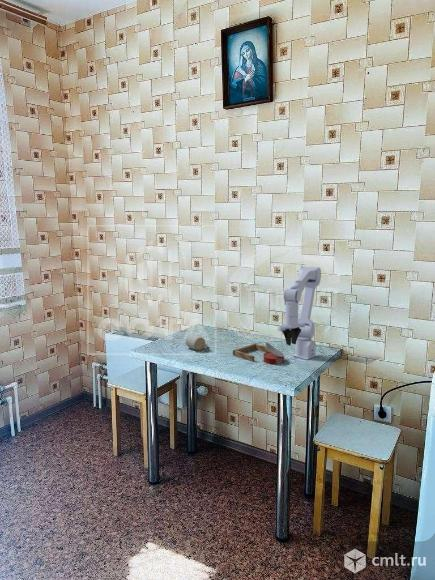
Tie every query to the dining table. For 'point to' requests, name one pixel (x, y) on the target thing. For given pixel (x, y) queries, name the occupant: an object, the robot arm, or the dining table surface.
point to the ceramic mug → (195, 341)
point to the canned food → (273, 355)
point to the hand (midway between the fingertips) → (291, 344)
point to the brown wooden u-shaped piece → (241, 351)
